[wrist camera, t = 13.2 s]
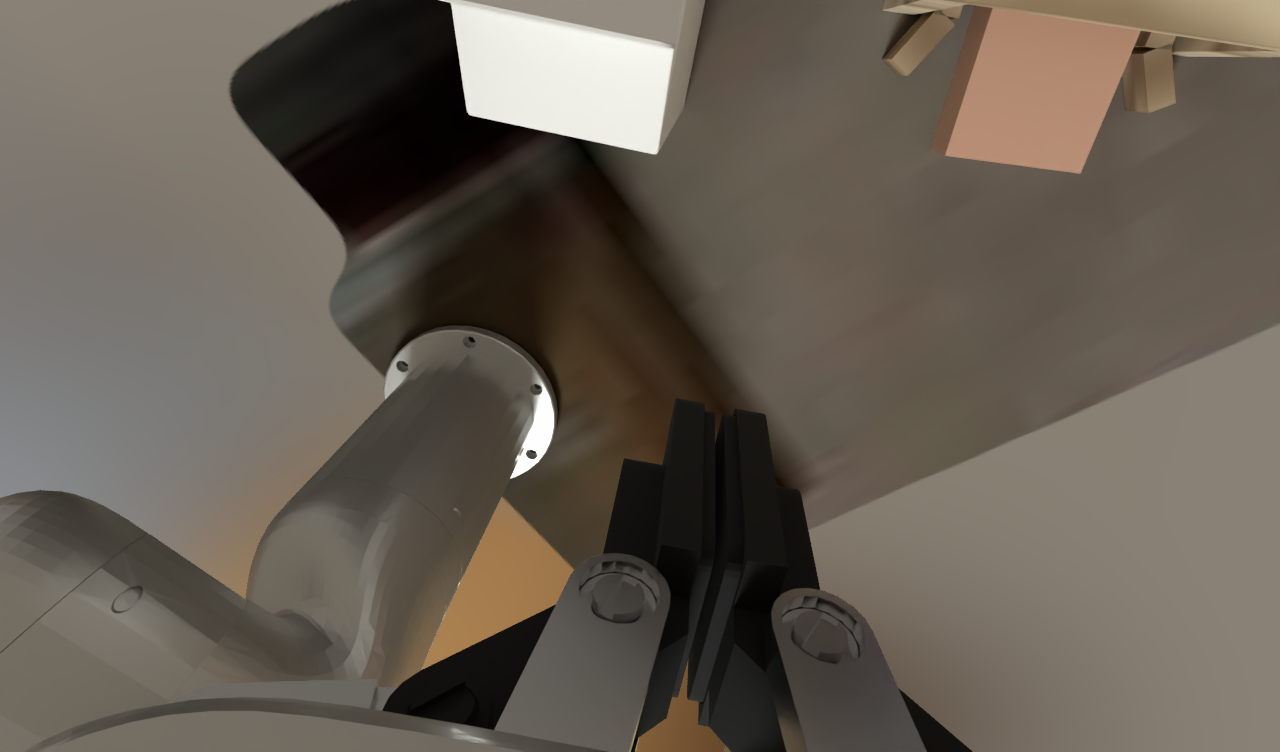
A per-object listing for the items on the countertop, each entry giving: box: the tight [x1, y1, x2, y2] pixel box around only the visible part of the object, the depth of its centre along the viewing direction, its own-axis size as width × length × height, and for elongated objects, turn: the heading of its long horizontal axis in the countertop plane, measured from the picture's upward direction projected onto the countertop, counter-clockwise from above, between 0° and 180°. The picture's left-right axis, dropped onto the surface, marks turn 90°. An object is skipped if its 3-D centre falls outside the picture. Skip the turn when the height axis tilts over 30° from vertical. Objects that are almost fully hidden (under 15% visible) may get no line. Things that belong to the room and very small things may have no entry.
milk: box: [440, 0, 705, 154], centre depth 25 cm, size 6×6×22 cm
